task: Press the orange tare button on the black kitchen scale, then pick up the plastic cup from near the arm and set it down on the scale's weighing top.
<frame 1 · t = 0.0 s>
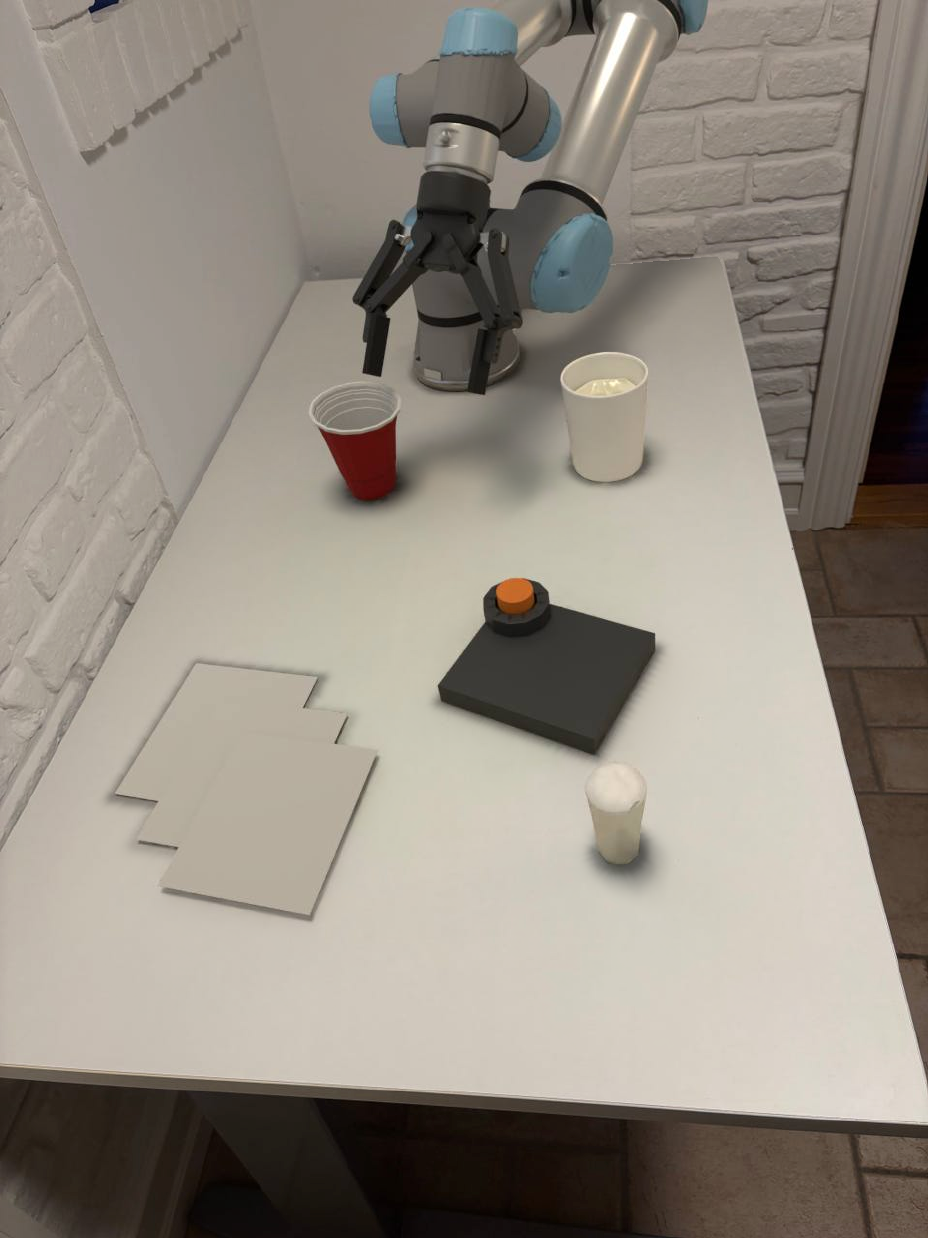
hand: (422, 384, 104), 15 cm above the table, tool tilted 35°, fingers open, 13 cm apart
plastic cup: (375, 488, 118), on the table
white paper cup: (607, 463, 115), on the table
paper stack: (246, 775, 88), on the table
scale: (548, 674, 92), on the table
milkshake: (621, 853, 77), on the table
tare button: (515, 596, 94), point 4 cm above the table, slide at 0.1 cm
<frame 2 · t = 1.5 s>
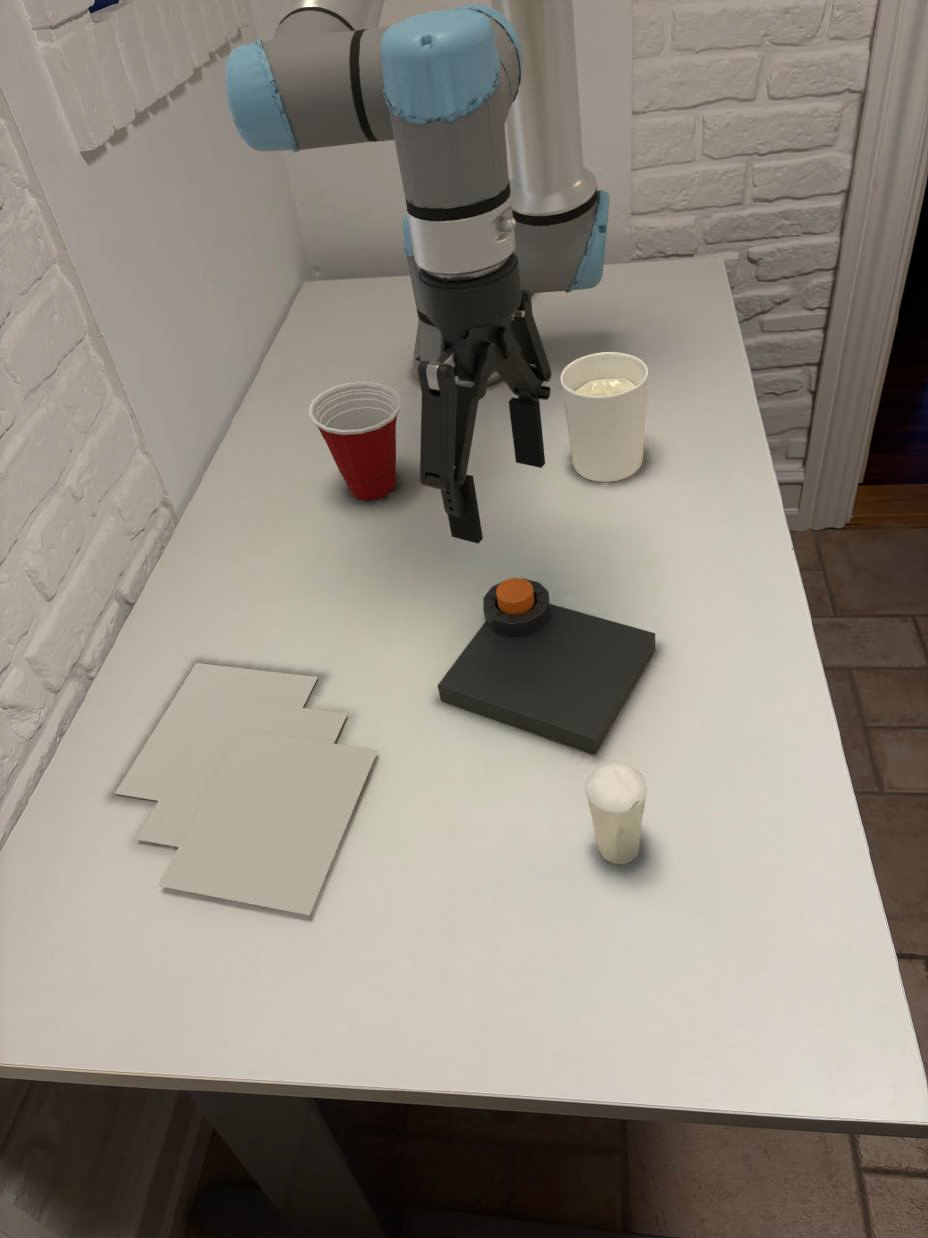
hand: (500, 499, 85), 16 cm above the table, tool pointing down, fingers open, 11 cm apart
nothing on the table moved.
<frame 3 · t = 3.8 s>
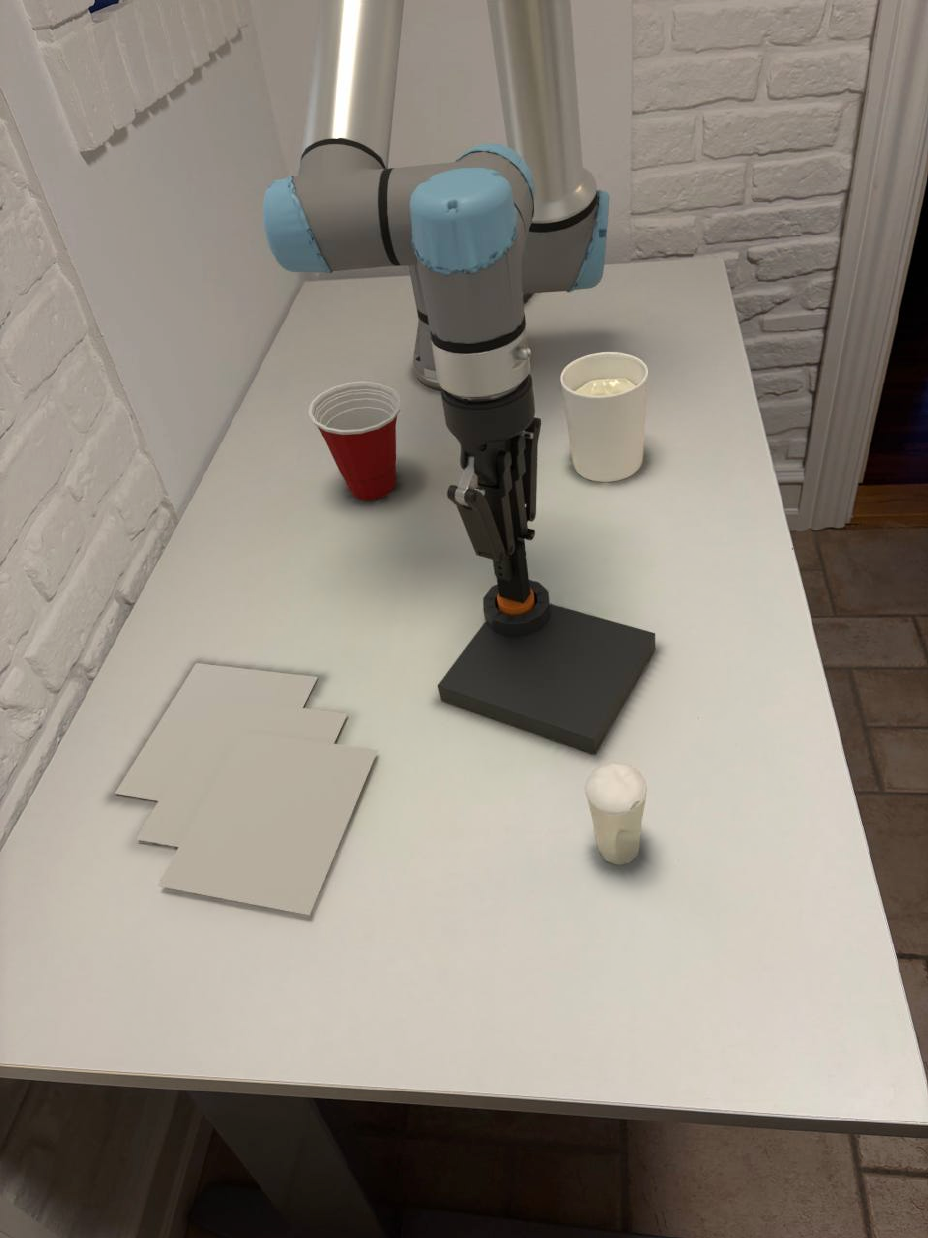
hand: (514, 594, 93), 5 cm above the table, tool pointing down, fingers closed
tare button: (516, 602, 94), point 4 cm above the table, slide at -0.7 cm, touching gripper
everything else where it was.
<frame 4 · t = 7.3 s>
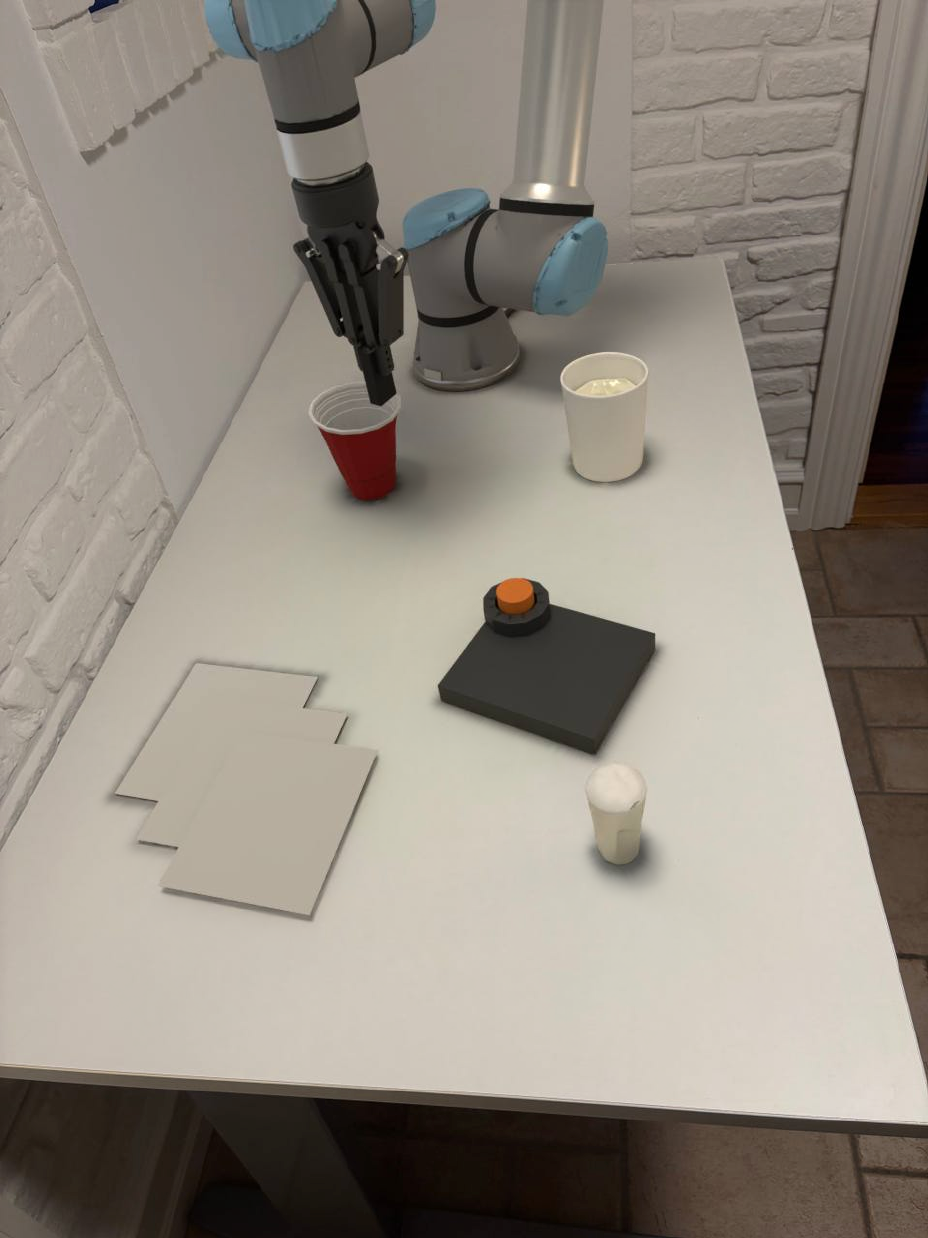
hand: (383, 398, 102), 16 cm above the table, tool pointing down, fingers closed
tare button: (515, 596, 94), point 4 cm above the table, slide at 0.1 cm
everything else where it was.
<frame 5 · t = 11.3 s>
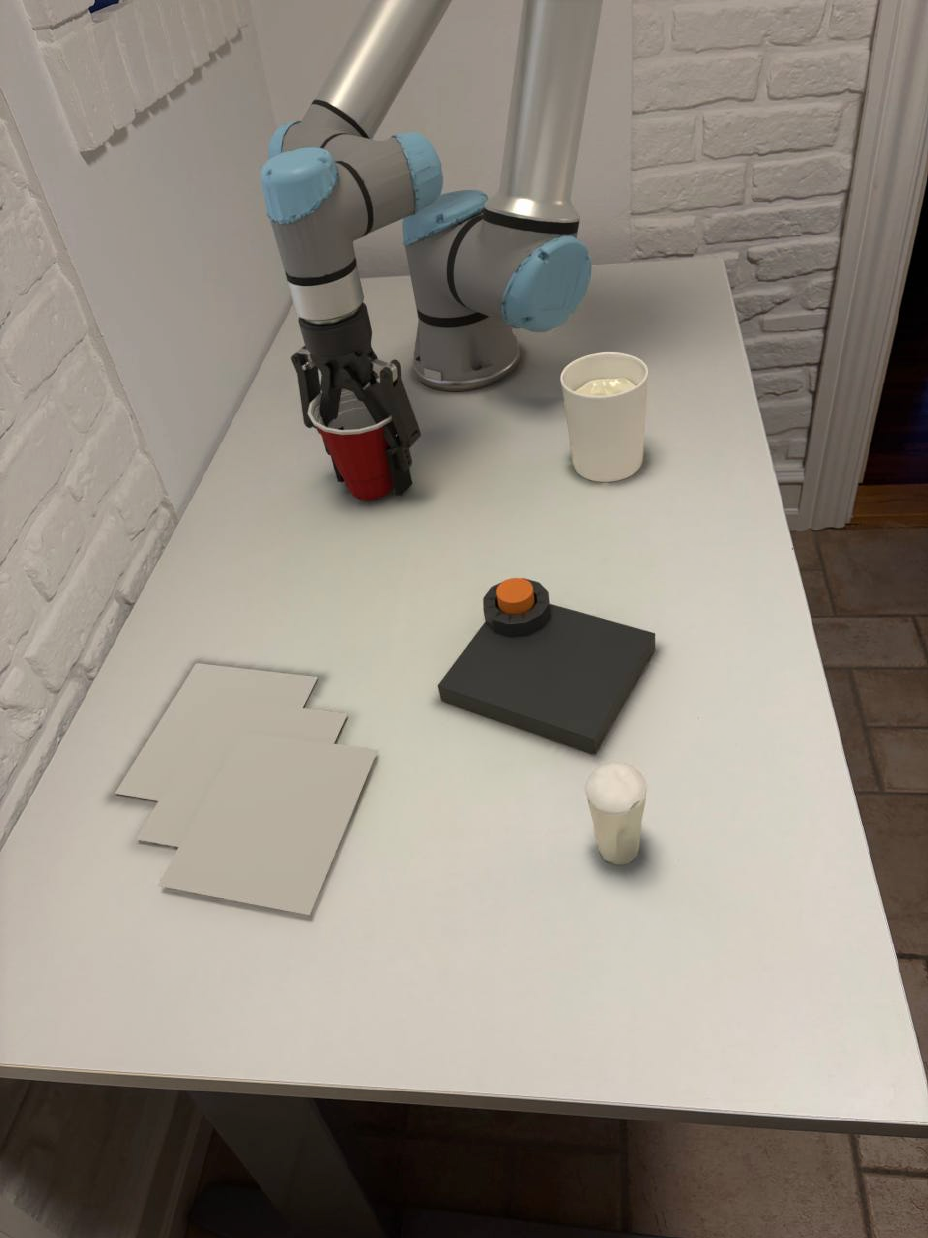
hand: (374, 482, 118), 1 cm above the table, tool pointing down, fingers closed on plastic cup, 8 cm apart
plastic cup: (375, 488, 118), on the table, touching gripper
everything else where it was.
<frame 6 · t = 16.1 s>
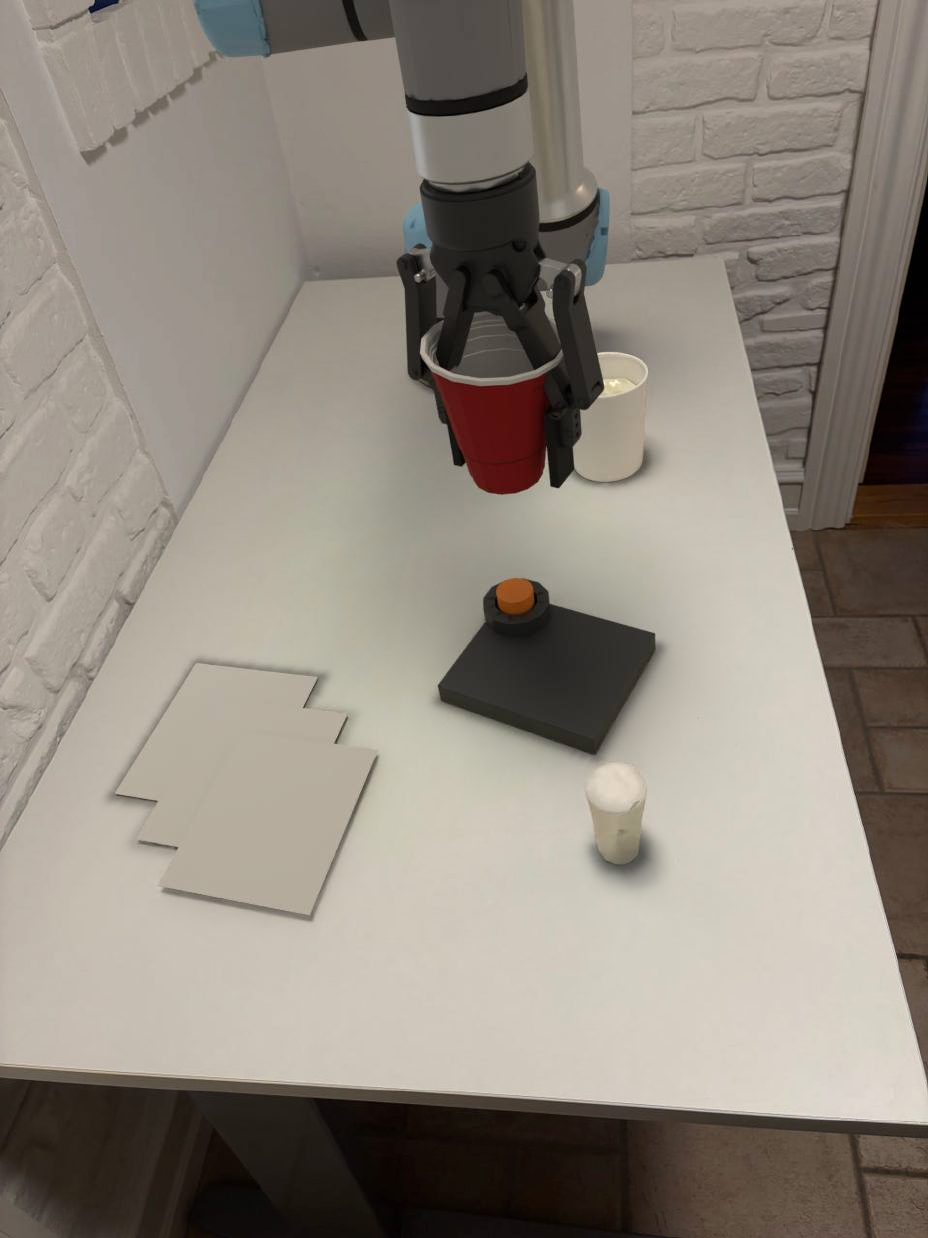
hand: (513, 466, 76), 24 cm above the table, tool pointing down, fingers closed on plastic cup, 8 cm apart
plastic cup: (511, 476, 77), point 23 cm above the table, touching gripper
everything else where it was.
when the fingers open (3 cm above the table, at t = 21.4 s): plastic cup stays where it is, resting on scale.
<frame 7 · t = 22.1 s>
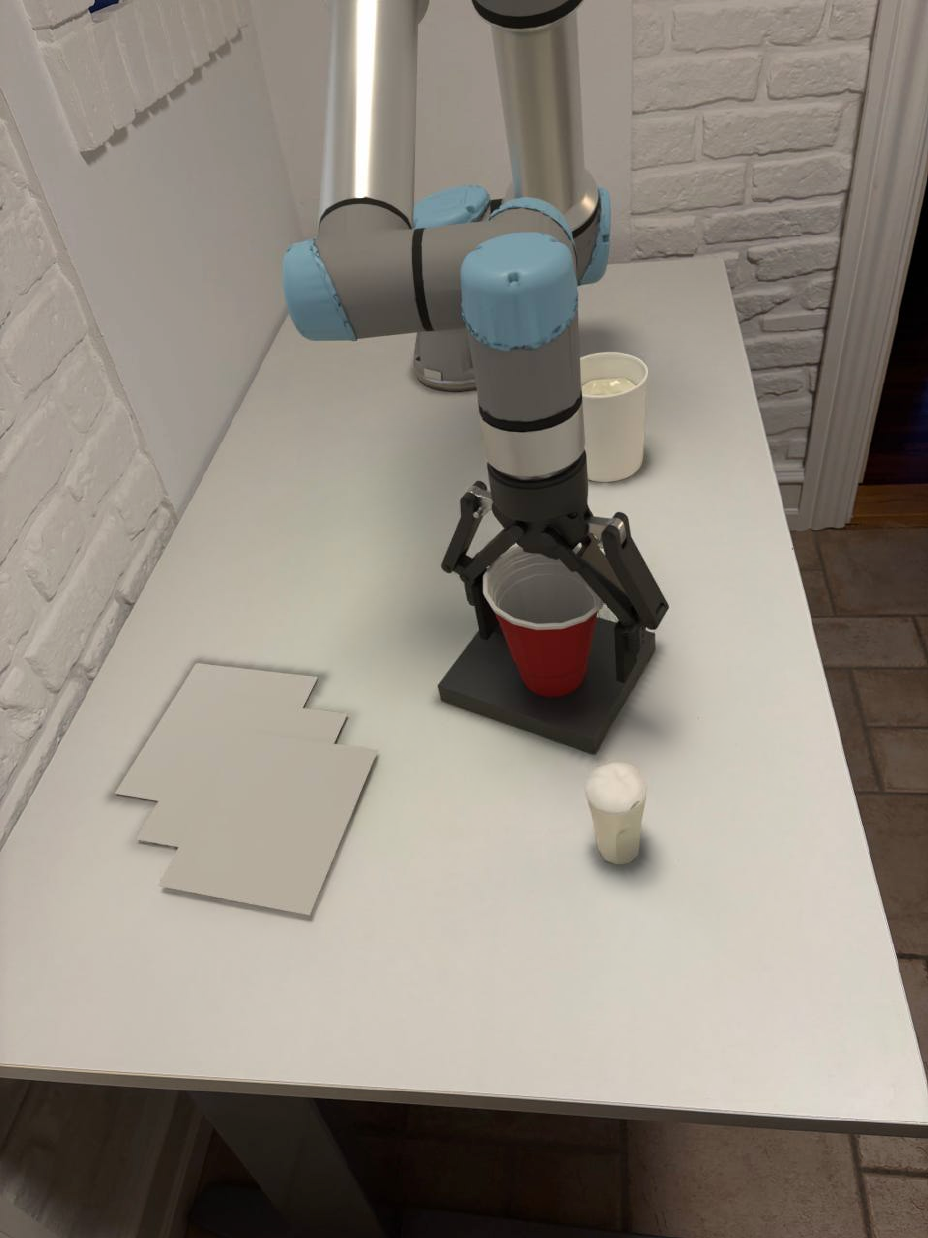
hand: (556, 650, 86), 6 cm above the table, tool pointing down, fingers open, 13 cm apart
plastic cup: (556, 676, 89), point 2 cm above the table, touching scale
everything else where it was.
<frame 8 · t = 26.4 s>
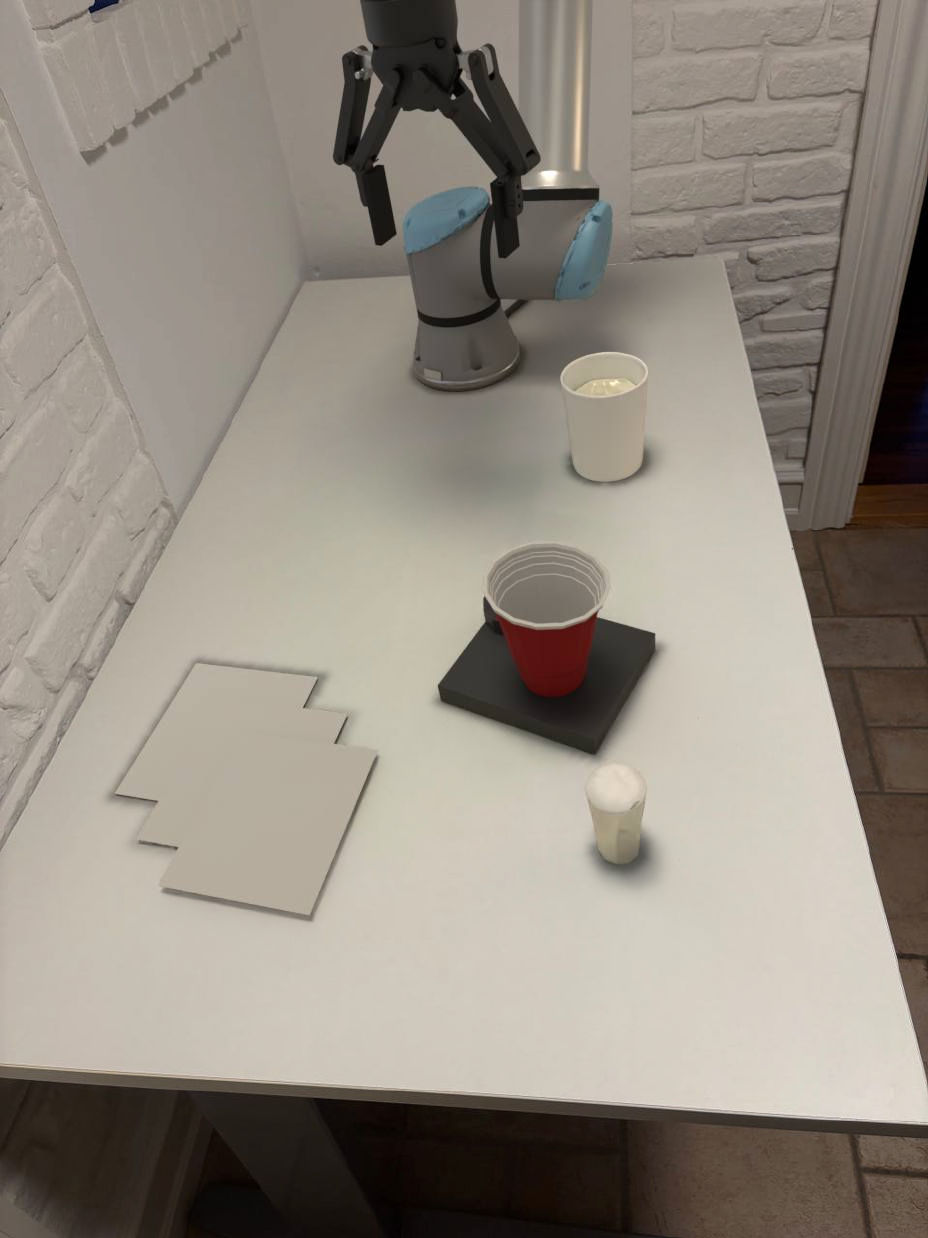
hand: (445, 245, 90), 32 cm above the table, tool pointing down, fingers open, 13 cm apart
nothing on the table moved.
at the end: tare button pushed in 1.0 cm at the most during the clip, back to where it started at the end; plastic cup inside the target area on the scale (0.3 cm from its centre), point 2.0 cm above the scale's base; plastic cup touching scale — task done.
